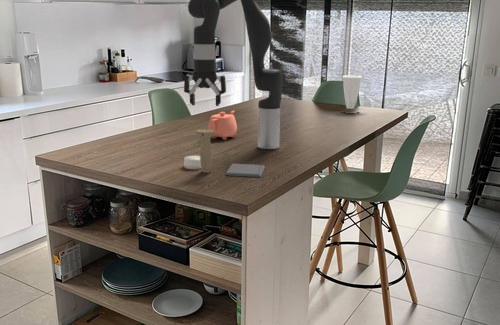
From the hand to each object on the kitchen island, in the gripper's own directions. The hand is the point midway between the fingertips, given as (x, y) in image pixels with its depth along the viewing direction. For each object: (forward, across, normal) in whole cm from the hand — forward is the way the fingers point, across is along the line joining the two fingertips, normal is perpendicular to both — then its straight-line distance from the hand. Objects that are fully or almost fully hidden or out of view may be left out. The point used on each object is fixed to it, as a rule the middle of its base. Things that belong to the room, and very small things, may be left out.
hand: (205, 105), depth 178 cm
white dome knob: (+24, +6, -6) cm, 26 cm away
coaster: (+24, -14, -3) cm, 28 cm away
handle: (+24, 0, 0) cm, 24 cm away
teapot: (+24, +5, -58) cm, 63 cm away
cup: (+24, -57, -141) cm, 154 cm away
